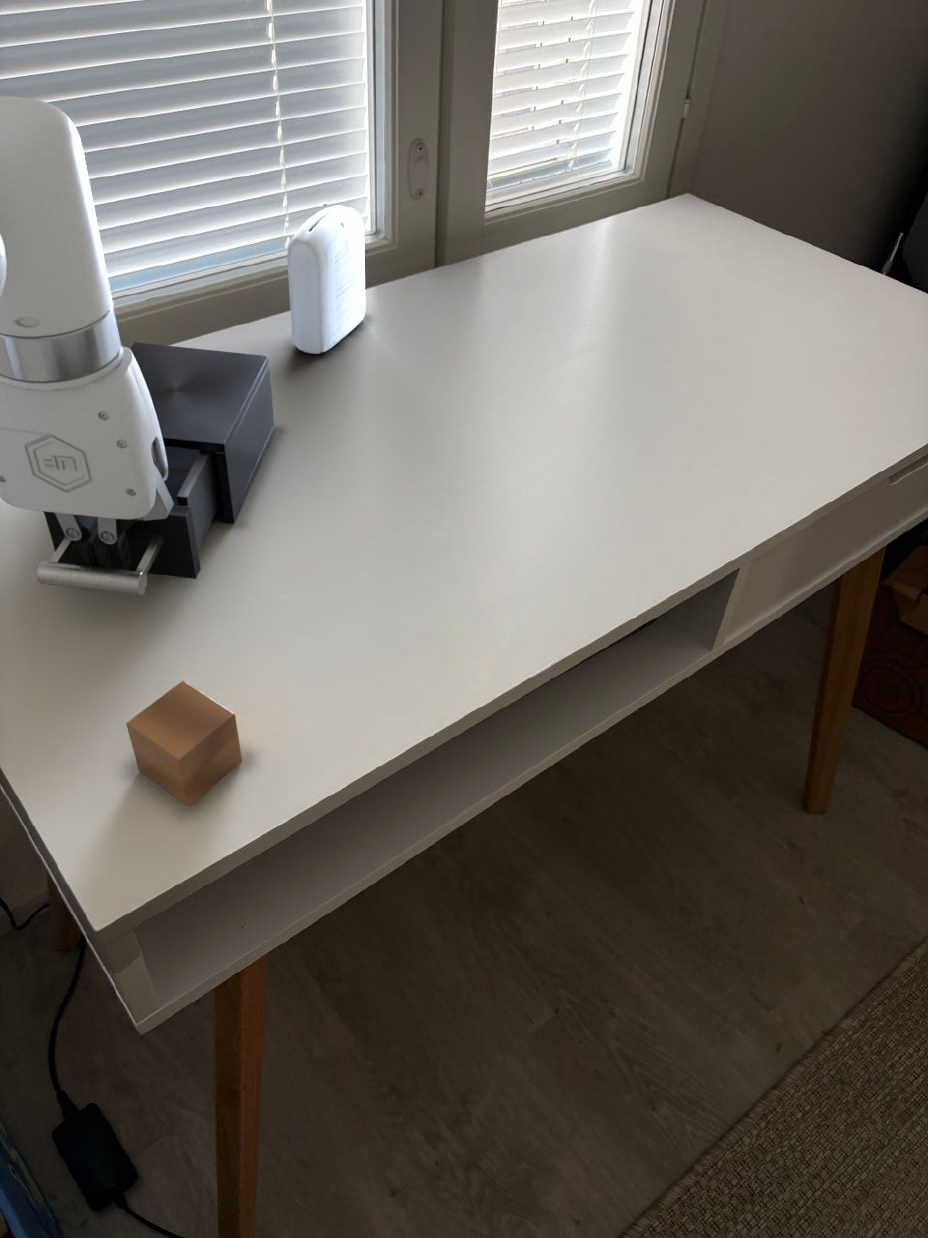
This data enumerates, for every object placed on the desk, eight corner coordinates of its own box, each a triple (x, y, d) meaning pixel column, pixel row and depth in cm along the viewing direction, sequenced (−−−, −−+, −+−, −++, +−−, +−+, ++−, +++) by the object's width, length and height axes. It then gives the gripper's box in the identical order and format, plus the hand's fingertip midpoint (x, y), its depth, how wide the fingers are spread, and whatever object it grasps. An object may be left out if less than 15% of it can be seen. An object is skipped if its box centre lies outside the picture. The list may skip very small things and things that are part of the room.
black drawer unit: (234, 524, 81) (224, 443, 76) (92, 508, 81) (72, 427, 76) (275, 432, 91) (268, 355, 86) (148, 418, 91) (134, 341, 86)
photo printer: (335, 308, 109) (331, 191, 100) (370, 317, 108) (369, 199, 99) (286, 349, 102) (277, 227, 93) (324, 359, 101) (319, 237, 92)
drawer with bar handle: (171, 633, 70) (159, 570, 66) (25, 616, 71) (4, 552, 67) (241, 481, 84) (233, 421, 80) (117, 468, 84) (104, 407, 80)
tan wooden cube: (188, 807, 61) (178, 760, 58) (138, 770, 63) (125, 722, 60) (242, 761, 64) (235, 714, 60) (192, 727, 65) (183, 679, 62)
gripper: (-107, 355, 56) (-17, 598, 69) (156, 381, 56) (198, 622, 68) (-44, 295, 62) (28, 531, 74) (196, 318, 61) (228, 552, 74)
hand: (109, 574), depth 71 cm, fingers closed
